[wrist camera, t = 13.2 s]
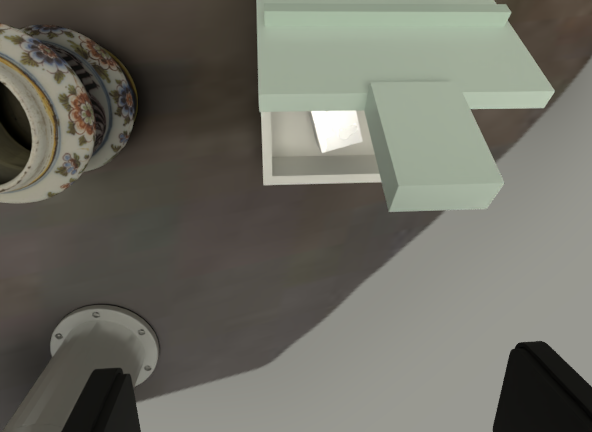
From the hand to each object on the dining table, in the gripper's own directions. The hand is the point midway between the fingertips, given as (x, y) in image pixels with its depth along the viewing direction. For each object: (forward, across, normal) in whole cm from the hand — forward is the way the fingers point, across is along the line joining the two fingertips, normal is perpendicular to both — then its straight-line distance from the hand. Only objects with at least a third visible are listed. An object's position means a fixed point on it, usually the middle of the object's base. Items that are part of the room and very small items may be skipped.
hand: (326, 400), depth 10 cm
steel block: (+34, -6, -2) cm, 35 cm away
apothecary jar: (+36, +18, -4) cm, 40 cm away
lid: (+17, -6, -9) cm, 20 cm away
